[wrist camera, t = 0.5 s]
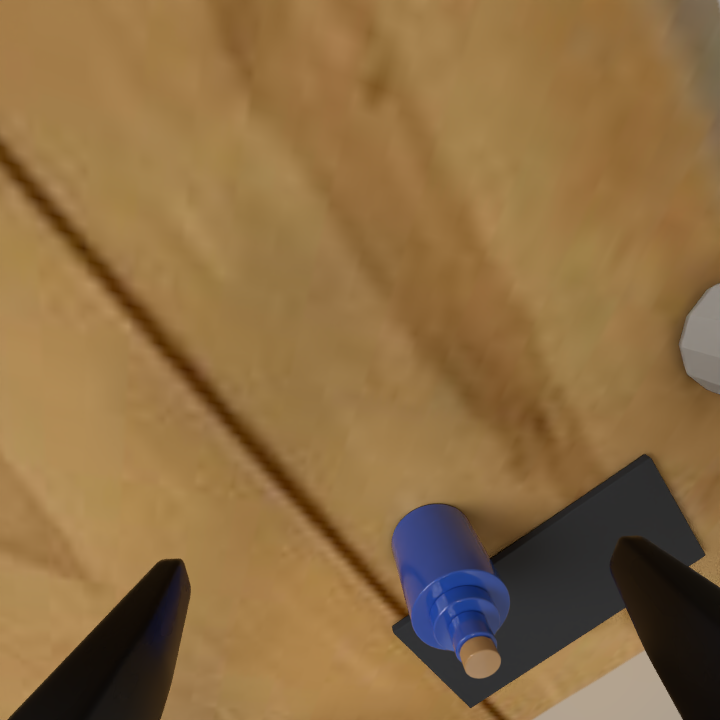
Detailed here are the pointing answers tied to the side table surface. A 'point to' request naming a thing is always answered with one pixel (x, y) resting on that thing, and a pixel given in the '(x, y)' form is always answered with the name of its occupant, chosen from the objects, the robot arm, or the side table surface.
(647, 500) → the mat
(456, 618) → the flask
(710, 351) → the water bottle
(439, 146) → the side table surface
